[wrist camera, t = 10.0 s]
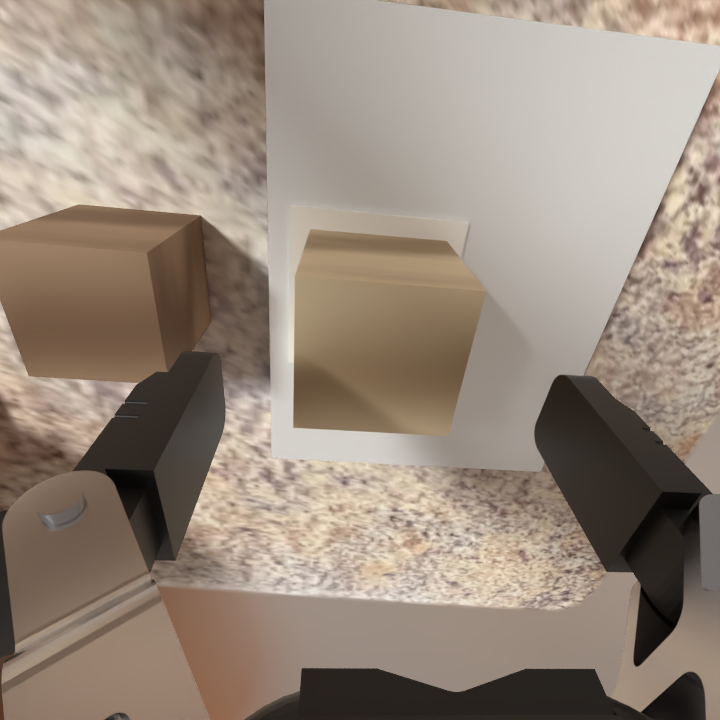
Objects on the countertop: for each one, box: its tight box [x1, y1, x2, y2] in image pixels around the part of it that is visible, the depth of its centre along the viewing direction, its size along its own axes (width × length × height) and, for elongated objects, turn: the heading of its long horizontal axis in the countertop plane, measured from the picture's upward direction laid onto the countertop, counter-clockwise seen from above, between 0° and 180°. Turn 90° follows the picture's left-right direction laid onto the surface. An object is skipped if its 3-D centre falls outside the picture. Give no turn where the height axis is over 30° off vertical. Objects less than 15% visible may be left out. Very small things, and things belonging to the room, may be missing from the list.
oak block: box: [293, 229, 486, 436], centre depth 14 cm, size 5×5×5 cm
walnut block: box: [0, 205, 211, 383], centre depth 15 cm, size 4×4×5 cm
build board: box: [264, 0, 720, 472], centre depth 17 cm, size 18×14×1 cm
